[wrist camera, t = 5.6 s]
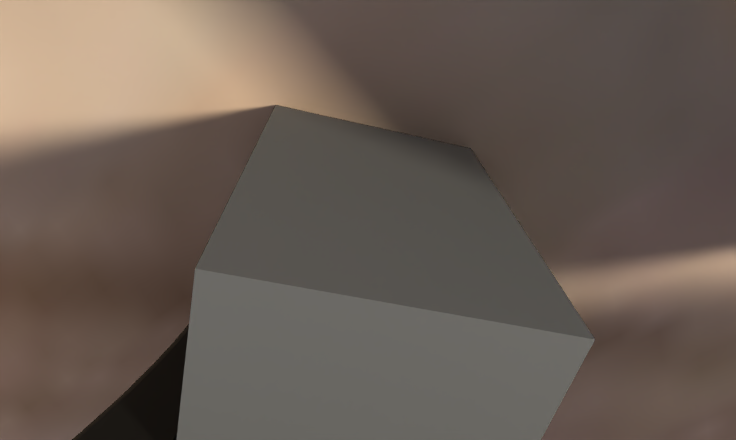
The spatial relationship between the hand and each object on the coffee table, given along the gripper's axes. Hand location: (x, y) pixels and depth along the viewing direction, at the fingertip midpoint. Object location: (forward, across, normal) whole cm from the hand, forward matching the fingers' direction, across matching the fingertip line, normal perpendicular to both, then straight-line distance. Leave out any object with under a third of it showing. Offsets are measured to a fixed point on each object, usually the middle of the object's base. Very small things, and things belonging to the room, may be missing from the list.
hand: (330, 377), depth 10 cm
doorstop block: (+2, 0, 0) cm, 3 cm away
